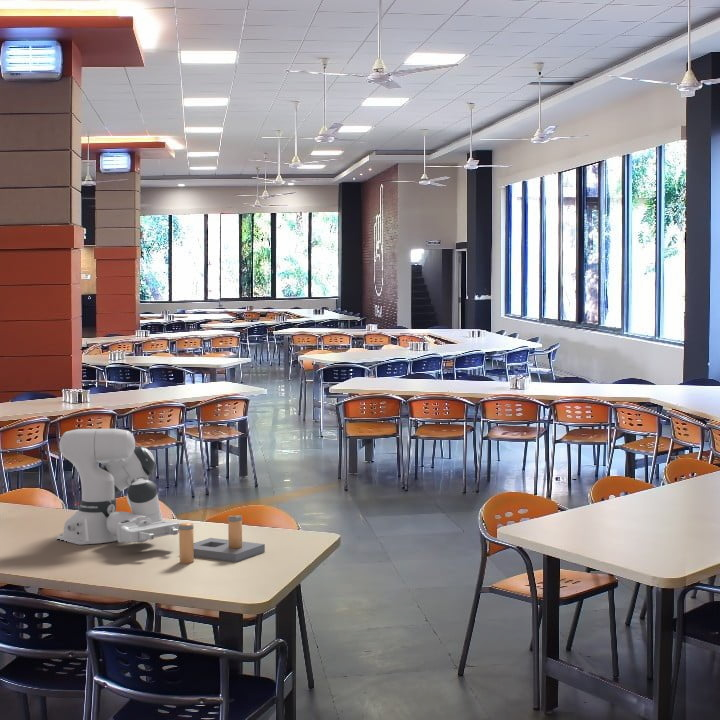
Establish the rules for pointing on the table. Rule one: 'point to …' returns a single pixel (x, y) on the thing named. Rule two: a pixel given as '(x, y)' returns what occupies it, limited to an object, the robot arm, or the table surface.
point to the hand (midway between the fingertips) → (164, 534)
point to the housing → (228, 544)
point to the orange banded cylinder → (186, 543)
